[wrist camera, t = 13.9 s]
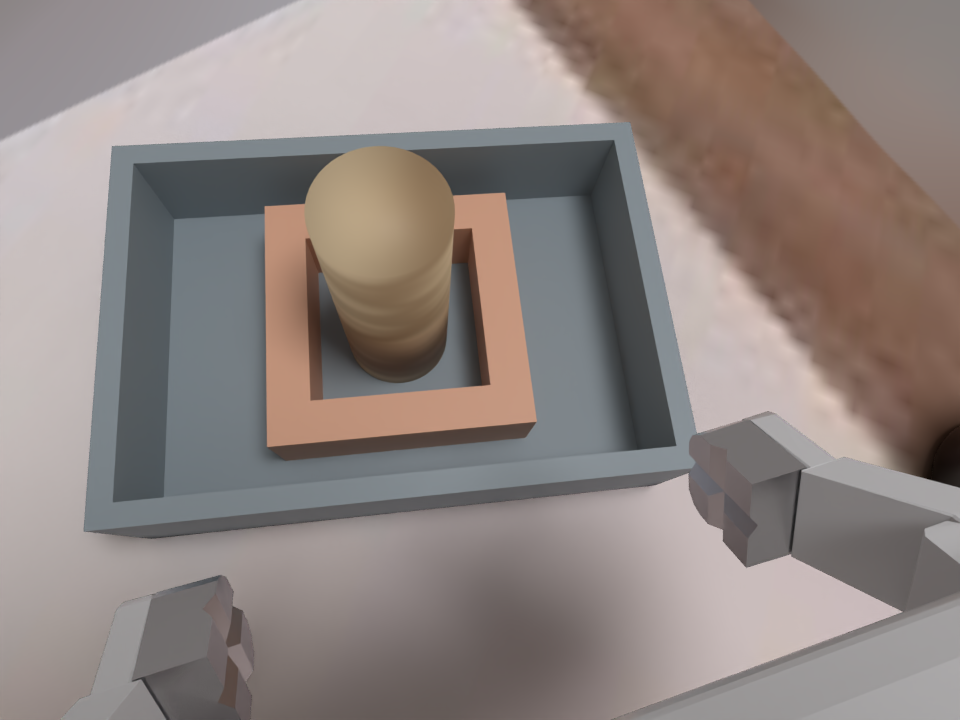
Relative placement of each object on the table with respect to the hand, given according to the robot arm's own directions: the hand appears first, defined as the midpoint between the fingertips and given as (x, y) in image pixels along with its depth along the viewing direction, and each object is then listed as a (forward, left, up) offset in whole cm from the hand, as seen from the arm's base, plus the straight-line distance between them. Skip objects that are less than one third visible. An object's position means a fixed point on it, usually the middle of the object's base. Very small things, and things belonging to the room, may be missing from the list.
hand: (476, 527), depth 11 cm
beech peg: (-1, +9, -14) cm, 17 cm away
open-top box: (-1, +9, -15) cm, 17 cm away
